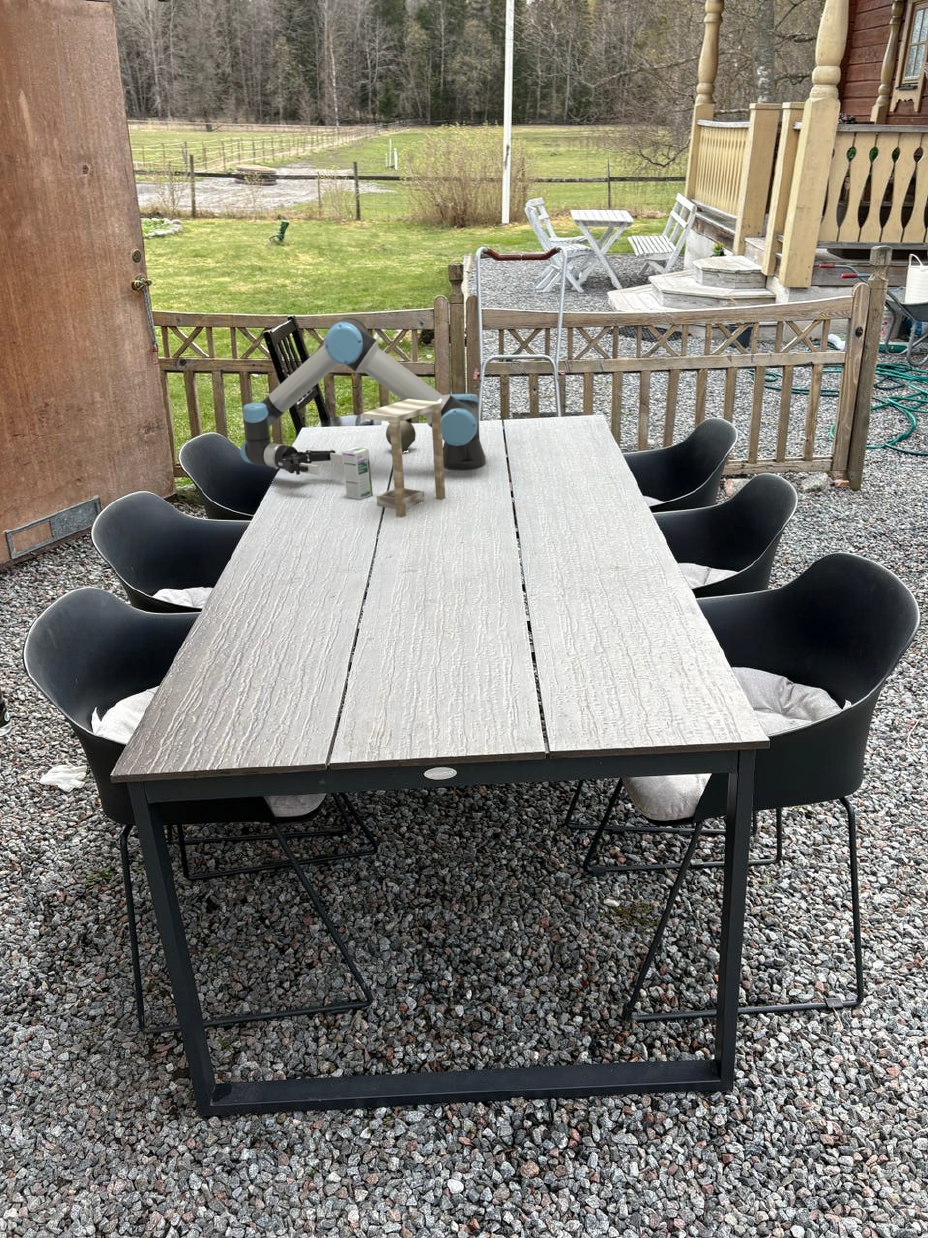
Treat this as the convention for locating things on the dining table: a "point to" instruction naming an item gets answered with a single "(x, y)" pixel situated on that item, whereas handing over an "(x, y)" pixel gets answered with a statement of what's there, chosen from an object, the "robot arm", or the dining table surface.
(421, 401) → the awning stand
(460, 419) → the robot arm
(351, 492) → the syrup box
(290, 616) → the dining table surface
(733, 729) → the dining table surface
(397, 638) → the dining table surface
